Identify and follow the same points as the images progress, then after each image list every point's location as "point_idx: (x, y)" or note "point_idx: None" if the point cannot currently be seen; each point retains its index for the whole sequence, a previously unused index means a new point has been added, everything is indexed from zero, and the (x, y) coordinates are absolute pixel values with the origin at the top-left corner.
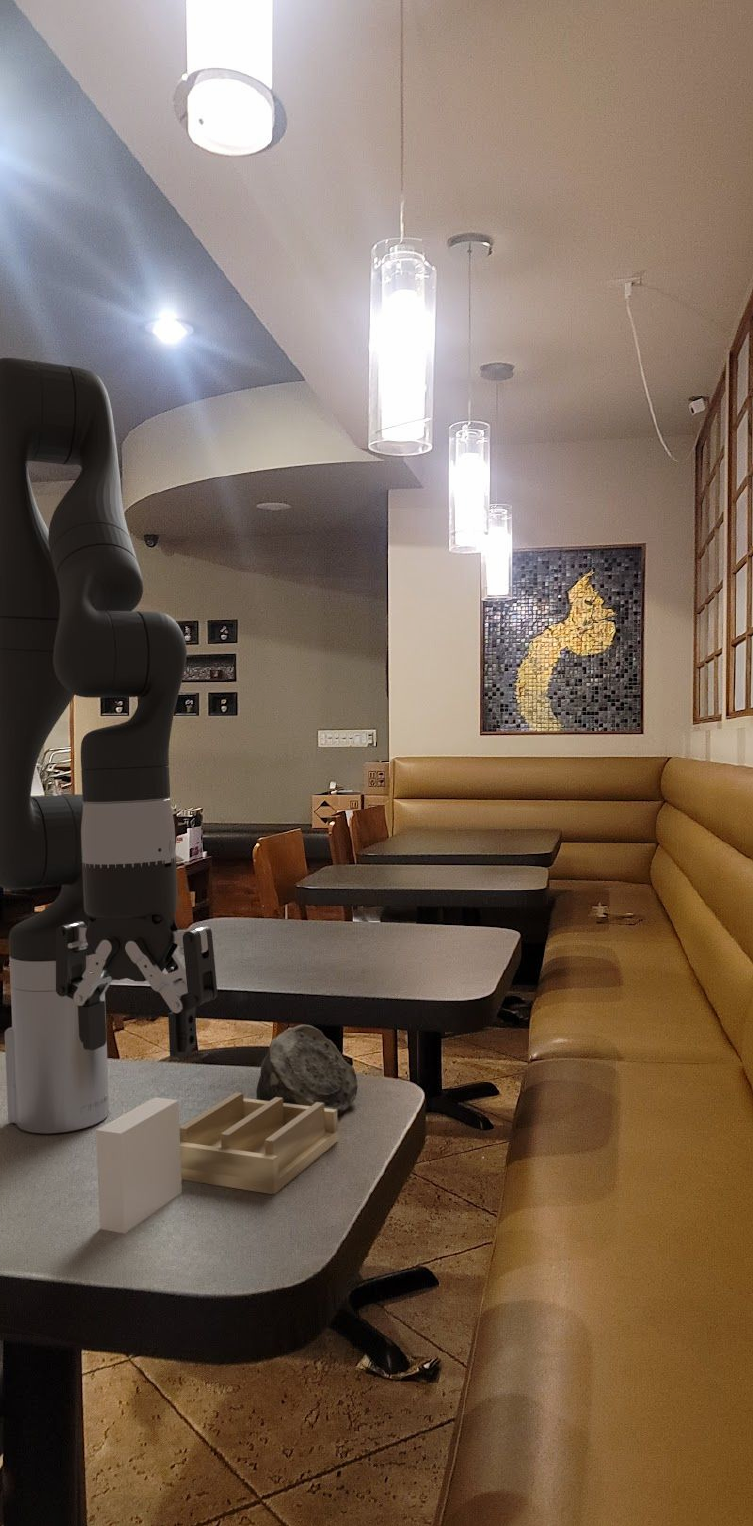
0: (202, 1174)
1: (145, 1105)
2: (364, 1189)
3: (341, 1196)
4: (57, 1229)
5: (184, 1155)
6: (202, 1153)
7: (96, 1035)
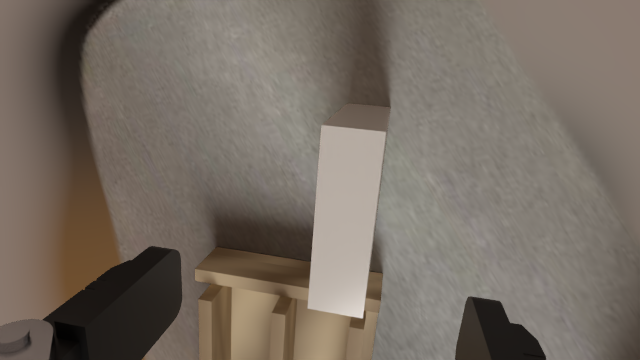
0: None
1: (356, 274)
2: None
3: None
4: (453, 88)
5: None
6: None
7: (470, 348)
